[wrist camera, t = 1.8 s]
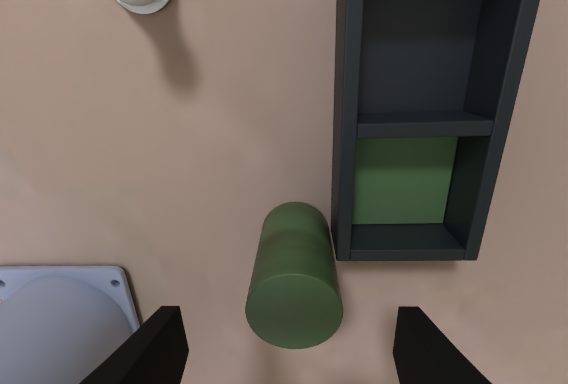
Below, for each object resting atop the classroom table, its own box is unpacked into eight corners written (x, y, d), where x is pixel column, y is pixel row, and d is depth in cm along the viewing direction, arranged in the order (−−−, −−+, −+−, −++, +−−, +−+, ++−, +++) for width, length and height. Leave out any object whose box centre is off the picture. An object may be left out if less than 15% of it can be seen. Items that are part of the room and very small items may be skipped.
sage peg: (328, 259, 18) (341, 350, 12) (264, 259, 18) (249, 349, 12) (329, 201, 16) (345, 273, 11) (260, 202, 16) (240, 273, 11)
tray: (500, -42, 12) (558, -71, 9) (448, 228, 17) (477, 261, 14) (337, -33, 12) (347, -59, 10) (330, 229, 17) (336, 261, 14)
